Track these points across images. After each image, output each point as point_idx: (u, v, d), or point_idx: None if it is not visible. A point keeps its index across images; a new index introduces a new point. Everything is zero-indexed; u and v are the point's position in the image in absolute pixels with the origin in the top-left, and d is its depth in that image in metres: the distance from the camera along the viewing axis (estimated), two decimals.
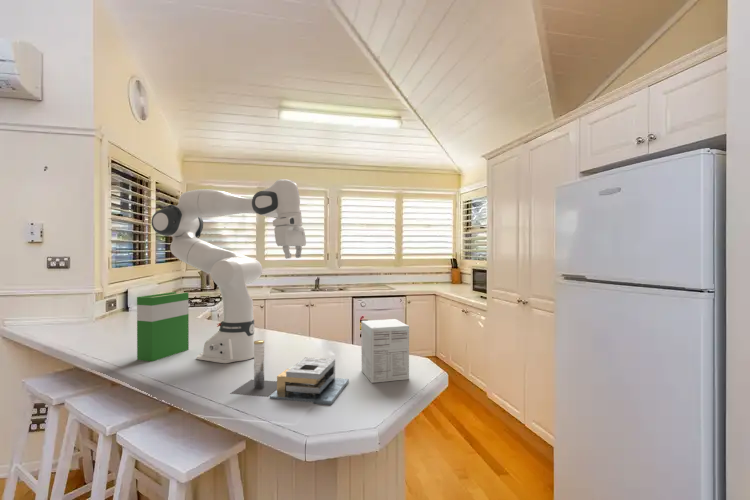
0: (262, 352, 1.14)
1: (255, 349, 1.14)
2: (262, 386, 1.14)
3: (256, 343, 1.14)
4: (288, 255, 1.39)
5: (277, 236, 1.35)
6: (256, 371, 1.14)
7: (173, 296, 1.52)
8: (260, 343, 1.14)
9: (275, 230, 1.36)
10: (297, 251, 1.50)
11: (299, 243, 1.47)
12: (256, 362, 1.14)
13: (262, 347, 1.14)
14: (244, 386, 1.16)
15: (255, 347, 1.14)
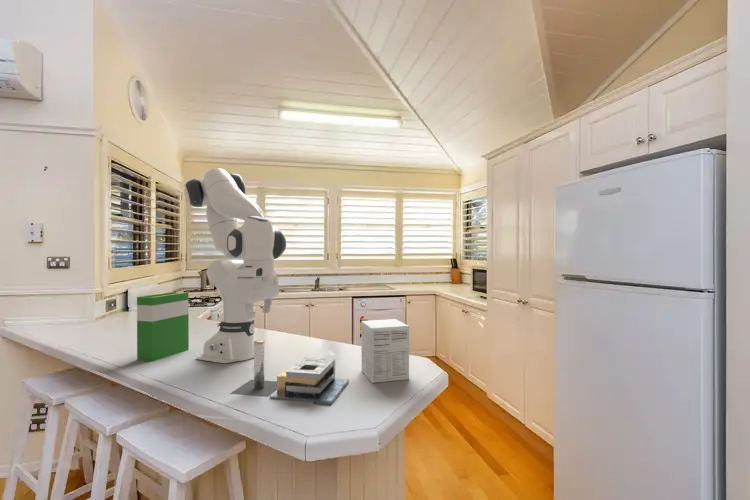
0: (262, 352, 1.14)
1: (255, 349, 1.14)
2: (262, 386, 1.14)
3: (256, 343, 1.14)
4: (251, 314, 1.09)
5: (237, 291, 1.05)
6: (256, 371, 1.14)
7: (173, 296, 1.52)
8: (260, 343, 1.14)
9: (236, 283, 1.06)
10: (266, 304, 1.20)
11: (268, 296, 1.17)
12: (256, 362, 1.14)
13: (262, 347, 1.14)
14: (244, 386, 1.16)
15: (255, 347, 1.14)
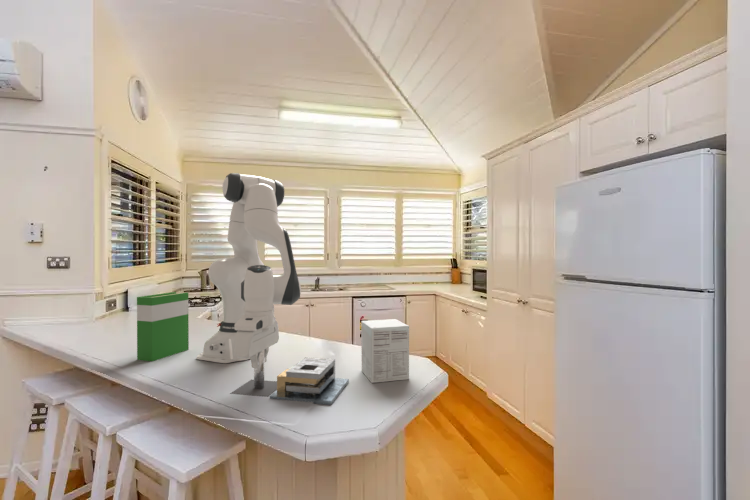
0: (262, 352, 1.14)
1: None
2: (262, 386, 1.14)
3: None
4: (255, 364, 1.12)
5: (237, 346, 1.05)
6: (256, 371, 1.14)
7: (173, 296, 1.52)
8: None
9: (236, 337, 1.06)
10: None
11: (268, 345, 1.17)
12: None
13: None
14: (244, 386, 1.16)
15: None
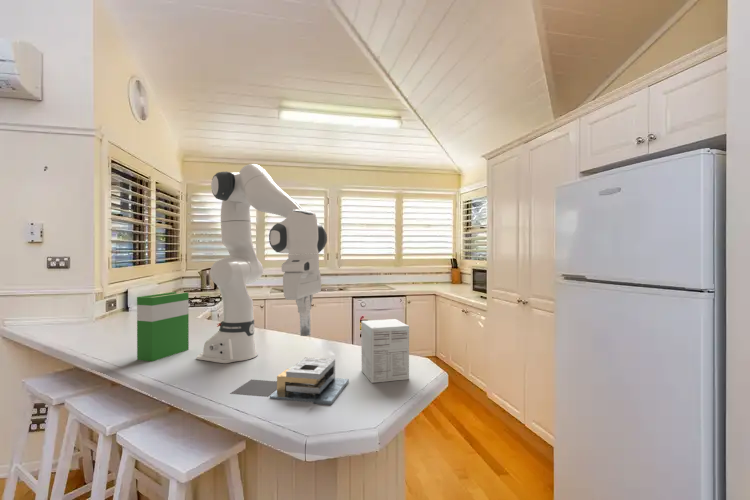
0: (308, 298, 1.11)
1: None
2: (309, 333, 1.11)
3: None
4: (302, 309, 1.09)
5: (286, 286, 1.02)
6: (302, 317, 1.10)
7: (173, 296, 1.52)
8: None
9: (284, 278, 1.03)
10: None
11: (313, 291, 1.14)
12: None
13: None
14: (244, 386, 1.16)
15: None
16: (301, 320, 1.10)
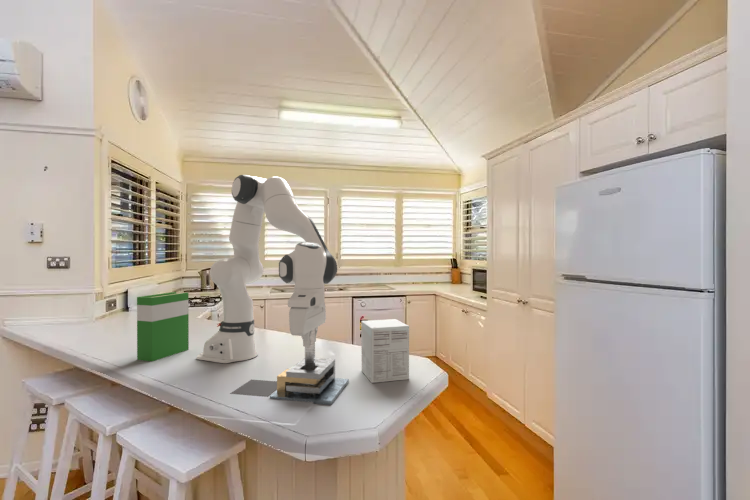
0: (313, 331, 1.11)
1: None
2: (313, 366, 1.11)
3: None
4: (307, 343, 1.09)
5: (292, 322, 1.02)
6: (307, 351, 1.10)
7: (173, 296, 1.52)
8: None
9: (290, 314, 1.03)
10: None
11: (318, 324, 1.14)
12: None
13: None
14: (244, 386, 1.16)
15: None
16: (306, 353, 1.11)
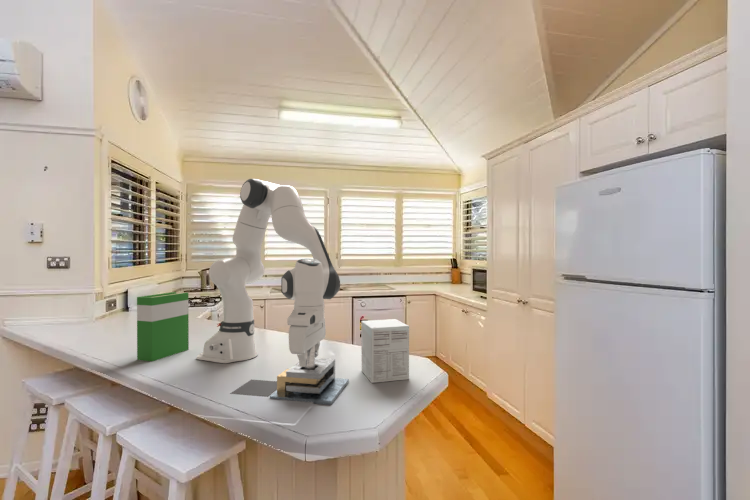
0: (313, 353, 1.11)
1: None
2: None
3: None
4: (303, 363, 1.07)
5: (291, 341, 1.02)
6: None
7: (173, 296, 1.52)
8: None
9: (290, 332, 1.03)
10: None
11: (318, 340, 1.14)
12: (307, 363, 1.10)
13: (313, 348, 1.11)
14: (244, 386, 1.16)
15: None
16: None
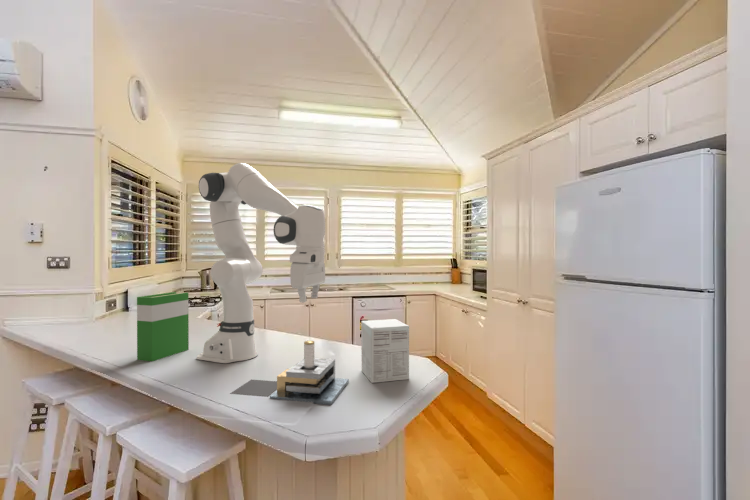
0: (313, 353, 1.11)
1: (306, 350, 1.11)
2: None
3: (307, 344, 1.10)
4: (303, 299, 1.14)
5: (293, 276, 1.10)
6: None
7: (173, 296, 1.52)
8: (311, 344, 1.11)
9: (291, 268, 1.11)
10: (314, 290, 1.25)
11: (317, 282, 1.22)
12: (307, 363, 1.10)
13: (313, 348, 1.11)
14: (244, 386, 1.16)
15: (306, 348, 1.11)
16: None
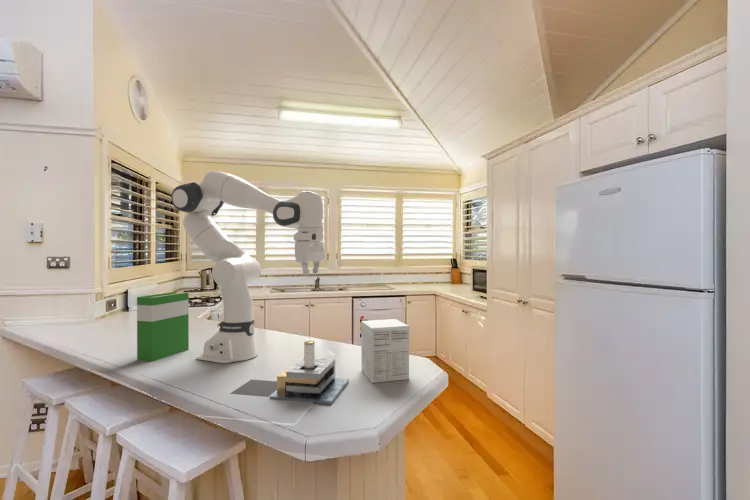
0: (313, 353, 1.11)
1: (306, 350, 1.11)
2: None
3: (307, 344, 1.10)
4: (306, 272, 1.33)
5: (297, 251, 1.28)
6: None
7: (173, 296, 1.52)
8: (311, 344, 1.11)
9: (295, 245, 1.29)
10: (315, 266, 1.43)
11: (318, 259, 1.40)
12: (307, 363, 1.10)
13: (313, 348, 1.11)
14: (244, 386, 1.16)
15: (306, 348, 1.11)
16: None
